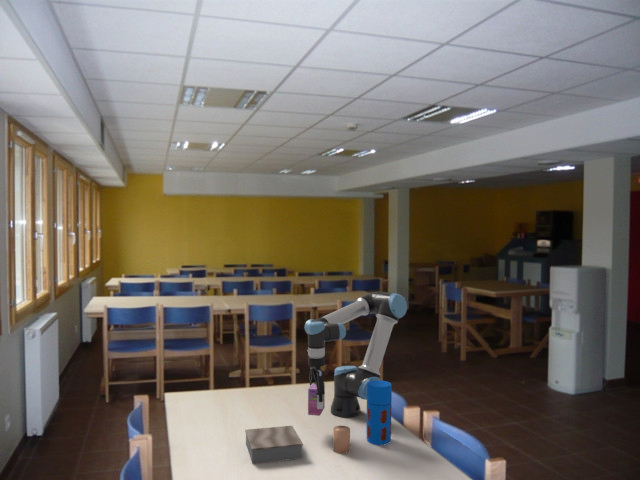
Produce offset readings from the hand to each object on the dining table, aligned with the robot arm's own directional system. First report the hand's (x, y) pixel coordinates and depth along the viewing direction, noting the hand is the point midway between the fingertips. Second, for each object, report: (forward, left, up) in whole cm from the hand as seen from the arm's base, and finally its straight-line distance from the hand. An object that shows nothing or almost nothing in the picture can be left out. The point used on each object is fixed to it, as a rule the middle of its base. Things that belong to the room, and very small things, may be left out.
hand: (316, 404), depth 237 cm
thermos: (-25, +14, -14) cm, 31 cm away
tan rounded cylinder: (-6, +20, -13) cm, 25 cm away
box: (0, 0, -4) cm, 4 cm away
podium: (+22, +14, -13) cm, 30 cm away
